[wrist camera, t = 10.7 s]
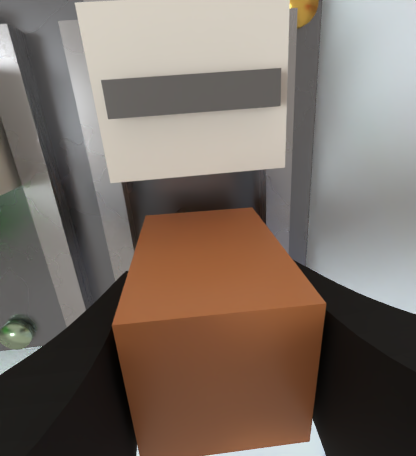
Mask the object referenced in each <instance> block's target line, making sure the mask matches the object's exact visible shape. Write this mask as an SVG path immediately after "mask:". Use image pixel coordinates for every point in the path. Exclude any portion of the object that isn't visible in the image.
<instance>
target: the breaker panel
mask: <svg viewBox="0 0 416 456" xmlns="http://www.w3.org/2000/svg"><path fill="white" fill-rule="evenodd" d="M94 1H114V0H0V116H1V119H2V122H3V126H4V129H5V132H6V135H7V138H8V142H9V145H10V148H11V151H12V154H13V157H14V161H15V164H16V167H17V170H18V173H19V177H20V180H21V183H22V186H20V187H18V188H15V189H13V190H11V191H9V192H7V193H5V194H3V195H1V196H0V351H4V350H12V349H23V348H28V347H36V346H44V345H45V344H46V343H48V342H49V341H50V340H52V339H53V338H54V337H56V336H57V335H58V334H59V333H61V332H62V331H63V330H64V329H66V328H67V327H68V326H69V325H70V324H71V323H73V322H74V321H75V320H76V319H77V318H78V317H79V316H80V315H81V314H83V313H84V312H85V311H86V310H87V309H88V308H89V307H90V306H91V305H92V304H94V303H95V302H96V301H97V300H98V299H99V298H100V297H101V296H102V295H103V294H104V293H105V292H106V291H107V290H108V289H109V288H110V286H111V285H112V284H113V283H114V282H115V281H116V280H117V279H118V278H119V277H120V276H121V275H122V274H123V273H124V272H125V271H129V268H130V265H131V262H132V258H133V255H134V252H135V249H136V245H137V242H138V239H139V236H140V232H141V229H142V226H143V223H144V219H145V216H146V215H159V214H172V213H185V212H198V211H211V210H224V209H237V208H250V207H252V208H253V209H254V210H255V211H256V213H257V214H258V215H259V217H260V218H261V219H262V221H263V222H264V223H265V224H266V226H267V227H268V228H269V230H270V231H271V232H272V233H273V235H274V236H275V237H276V239H277V240H278V241H279V243H280V244H281V245H282V246H283V248H284V249H285V250H286V252H287V253H288V254H289V256H290V257H291V258H292V259H293V260H295V261H297V262H298V263H300V264H302V265H304V266H306V251H307V235H308V218H309V202H310V186H311V170H312V154H313V138H314V122H315V106H316V90H317V74H318V58H319V42H320V26H321V10H322V0H290V9H289V45H288V80H287V115H286V151H285V168H274V169H263V170H252V171H241V172H230V173H218V174H207V175H196V176H185V177H174V178H163V179H152V180H141V181H130V182H119V183H110V178H109V173H108V168H107V163H106V158H105V153H104V148H103V143H102V138H101V133H100V128H99V123H98V118H97V113H96V108H95V103H94V98H93V93H92V88H91V83H90V78H89V73H88V68H87V63H86V58H85V52H84V47H83V42H82V37H81V32H80V27H79V22H78V17H77V12H76V7H75V2H94Z"/></svg>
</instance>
